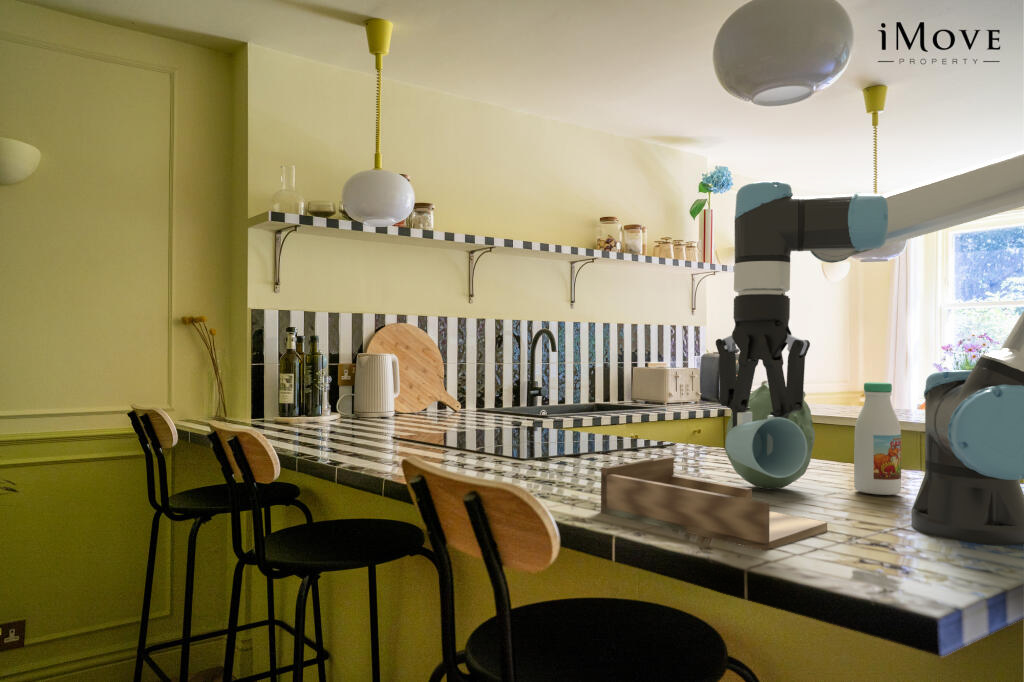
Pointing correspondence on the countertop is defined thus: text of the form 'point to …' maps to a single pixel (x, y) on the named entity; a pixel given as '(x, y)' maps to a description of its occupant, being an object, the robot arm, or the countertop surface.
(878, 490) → the milk bottle
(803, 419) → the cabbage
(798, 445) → the cup
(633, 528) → the countertop surface
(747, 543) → the rail board
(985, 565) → the countertop surface
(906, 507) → the countertop surface
